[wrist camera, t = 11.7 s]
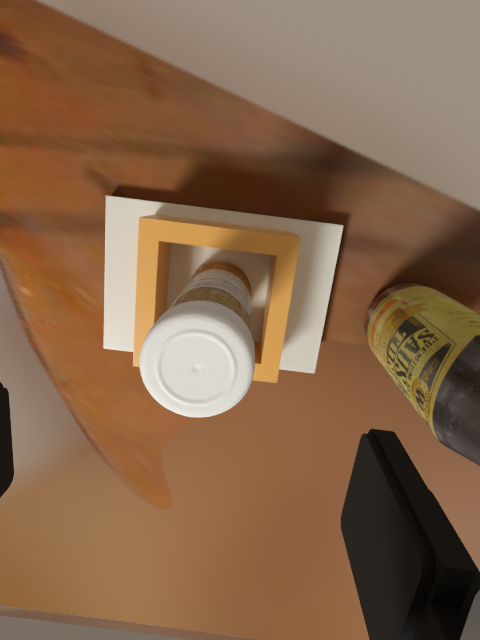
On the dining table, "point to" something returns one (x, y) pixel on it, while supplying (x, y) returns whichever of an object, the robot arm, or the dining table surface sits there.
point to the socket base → (219, 245)
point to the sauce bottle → (432, 359)
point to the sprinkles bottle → (202, 344)
